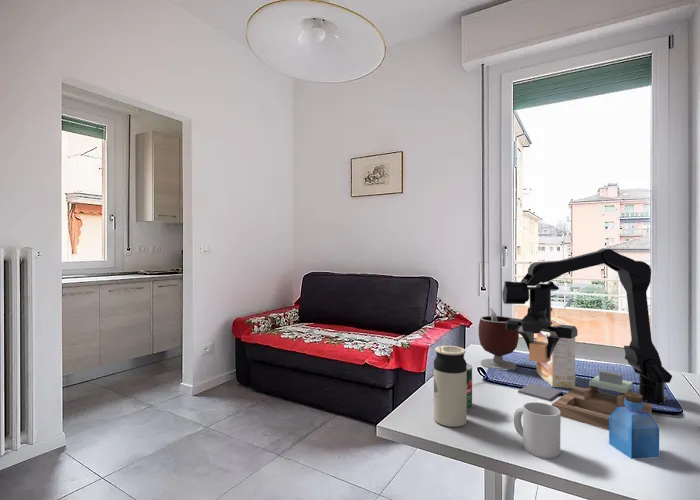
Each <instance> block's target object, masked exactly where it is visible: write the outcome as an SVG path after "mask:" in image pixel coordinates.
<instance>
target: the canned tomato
mask: <svg viewBox="0 0 700 500" xmlns="http://www.w3.org/2000/svg"><path fill="white" fill-rule="evenodd" d="M472 408H473V366H472V364H469V363H467V411H469V410H471V409H472Z"/></svg>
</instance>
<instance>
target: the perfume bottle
mask: <svg viewBox="0 0 700 500" xmlns="http://www.w3.org/2000/svg"><path fill="white" fill-rule="evenodd" d="M625 397H626V398H624V404H625V407H617V408H616V409H615V410H614V411H613V413H612V414H611V415H610V416H609V415H608V416H609V430H608V440H609V441H608V445H610V446H612V448H615V449H616V450H617V451H619V452H620V453H622V454H623V455H624V456H627V458H629V459H631V460H634V459H635V460H636V459H638V460H639V459H654V458H655V459H656V458H657V459H658V458H660V426H659V425H658V423H657V422H656V421H655V419H654V418H653V415H652V414H651V415H650V414H649V413H647V412H645V411H643V410H642V408H643V407H644V402H645V401H644V400H642V397H643V396H642V395H640V394H638V393H637V392H631V391H629V392H626V393H625Z"/></svg>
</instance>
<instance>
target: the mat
mask: <svg viewBox="0 0 700 500" xmlns="http://www.w3.org/2000/svg"><path fill="white" fill-rule="evenodd" d="M560 392H561V393H562V390H559V389H556V388H552V387H551V388H550V387H548V386H543V385H539V384H534V383H529V384H527V385H525V386H524V387H522V388H520V389H519V390H518V391H517V393H519V394H522V395H527V396H529V397H534V398H537V399H541V400H545V401H549V402H551V401H552V400H554V399H555V398H556V397H558V396H559V395H560V394H561V393H560Z"/></svg>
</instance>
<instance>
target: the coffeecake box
mask: <svg viewBox="0 0 700 500" xmlns="http://www.w3.org/2000/svg"><path fill="white" fill-rule="evenodd" d="M551 321H552V325H551V326H554V327H557V326H560V325H570V326H575V325H573V324H572V323H569V322H567V321H565V320H563V319H561V318H559V317H556V316H555V317H554V316H553V317H552V316H551ZM547 336H550V332H544V331H540V333H537V334H536V341H539V342H545V343H548V340H547ZM536 372H537V373H538V374H537V373H536V374H537V375H539V376H540V377H541V378H542V379H543V380H544V381H545V382H546V381H547V382H548V383H549V384H550V385H551V386H553V387H566V388H565V389H572V388H574V387H576V337H574V338H572V339H567V338H561V339H559V341H558V342H557V344H556V346H555V348H554V350H553V352H552V355H551V360H550V361H548V362H547V363H541V362H536ZM547 382H546V383H547ZM548 383H547V384H548ZM549 384H548V385H549ZM550 385H549V386H550ZM551 386H550V387H551Z"/></svg>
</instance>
